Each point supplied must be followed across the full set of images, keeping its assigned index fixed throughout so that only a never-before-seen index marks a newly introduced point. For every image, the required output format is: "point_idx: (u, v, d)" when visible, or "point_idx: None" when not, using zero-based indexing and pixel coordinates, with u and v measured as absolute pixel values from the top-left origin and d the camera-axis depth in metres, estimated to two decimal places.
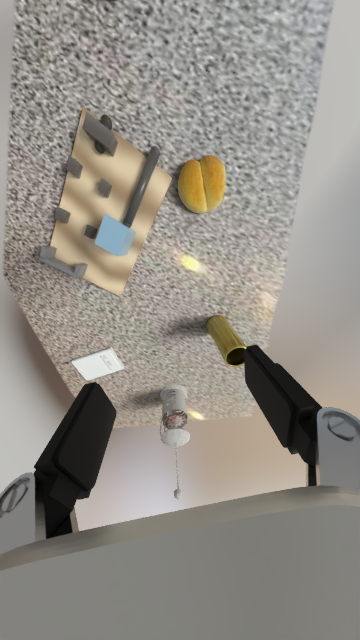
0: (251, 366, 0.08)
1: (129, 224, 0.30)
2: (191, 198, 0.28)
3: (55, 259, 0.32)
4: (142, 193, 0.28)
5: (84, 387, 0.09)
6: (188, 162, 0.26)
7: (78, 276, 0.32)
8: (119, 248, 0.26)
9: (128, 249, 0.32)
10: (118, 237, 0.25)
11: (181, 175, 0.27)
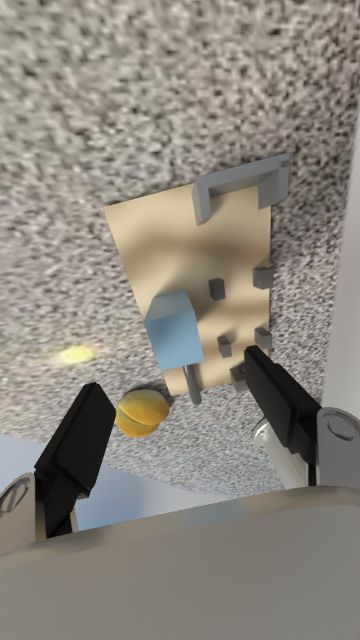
0: (251, 366, 0.08)
1: None
2: (138, 408, 0.23)
3: (255, 183, 0.14)
4: (184, 373, 0.21)
5: (84, 387, 0.09)
6: (166, 416, 0.25)
7: (196, 185, 0.12)
8: (151, 336, 0.12)
9: None
10: (165, 349, 0.13)
11: (163, 408, 0.24)
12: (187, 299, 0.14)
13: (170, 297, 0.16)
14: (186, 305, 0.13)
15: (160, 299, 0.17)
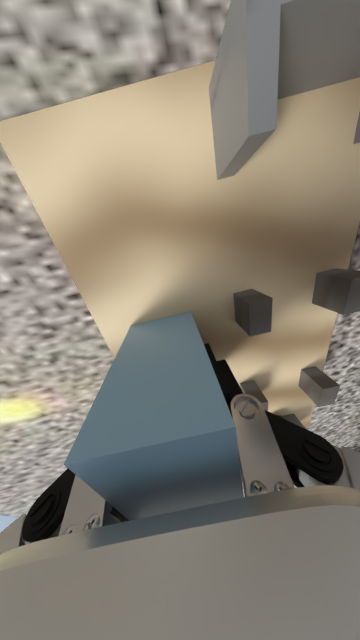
0: None
1: None
2: None
3: None
4: None
5: None
6: None
7: (238, 6, 0.04)
8: (99, 487, 0.04)
9: None
10: (144, 501, 0.05)
11: None
12: (200, 347, 0.06)
13: (162, 331, 0.08)
14: (202, 380, 0.05)
15: (142, 334, 0.08)
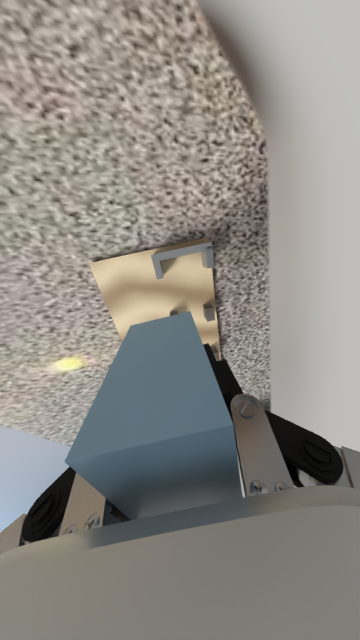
0: None
1: None
2: None
3: None
4: None
5: None
6: None
7: (152, 258, 0.18)
8: (99, 484, 0.04)
9: None
10: (144, 499, 0.05)
11: None
12: (199, 347, 0.06)
13: (161, 331, 0.08)
14: (201, 379, 0.05)
15: (142, 334, 0.08)
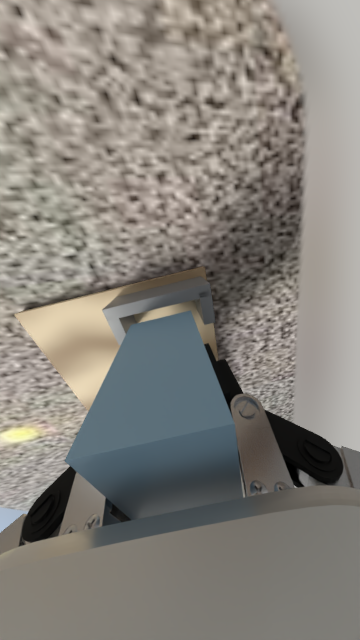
0: None
1: None
2: None
3: None
4: None
5: None
6: None
7: None
8: (99, 484, 0.04)
9: None
10: (144, 499, 0.05)
11: None
12: (199, 346, 0.06)
13: (162, 330, 0.08)
14: (201, 378, 0.05)
15: (142, 333, 0.08)
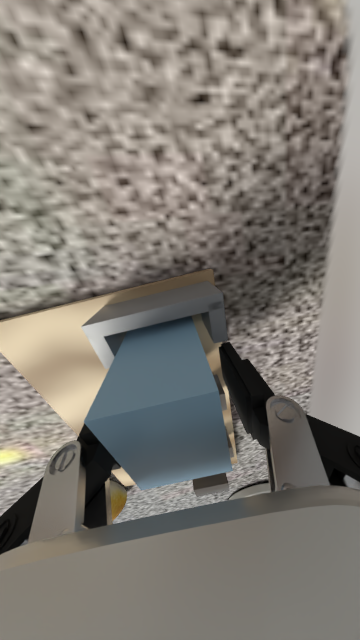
0: (223, 361, 0.09)
1: None
2: None
3: None
4: None
5: None
6: (121, 510, 0.21)
7: None
8: (110, 445, 0.05)
9: None
10: (147, 462, 0.06)
11: (115, 506, 0.20)
12: (194, 336, 0.07)
13: (161, 324, 0.09)
14: (194, 360, 0.06)
15: (143, 327, 0.09)
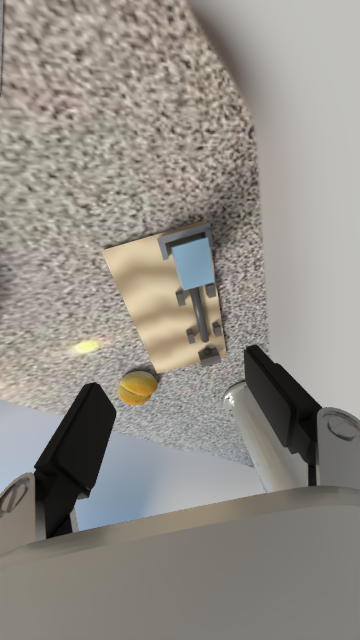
0: (251, 366, 0.08)
1: None
2: (134, 383, 0.32)
3: None
4: (195, 313, 0.27)
5: (84, 387, 0.09)
6: (155, 389, 0.34)
7: (158, 241, 0.20)
8: (177, 260, 0.17)
9: None
10: (187, 271, 0.18)
11: (152, 383, 0.33)
12: None
13: None
14: (201, 238, 0.18)
15: None
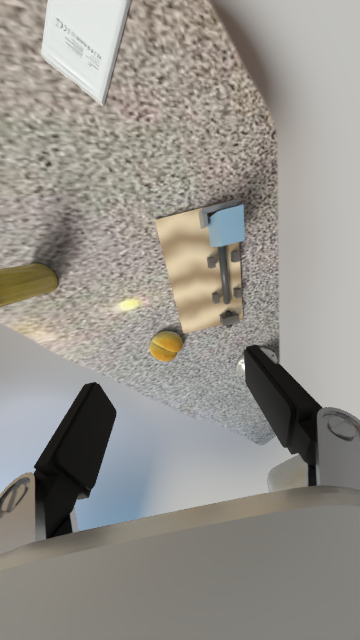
0: (251, 366, 0.08)
1: (219, 248, 0.31)
2: (165, 339, 0.38)
3: None
4: (222, 276, 0.33)
5: (84, 387, 0.09)
6: (181, 347, 0.40)
7: (201, 211, 0.27)
8: (220, 221, 0.24)
9: (209, 226, 0.29)
10: (225, 230, 0.24)
11: (179, 341, 0.39)
12: None
13: None
14: None
15: None
